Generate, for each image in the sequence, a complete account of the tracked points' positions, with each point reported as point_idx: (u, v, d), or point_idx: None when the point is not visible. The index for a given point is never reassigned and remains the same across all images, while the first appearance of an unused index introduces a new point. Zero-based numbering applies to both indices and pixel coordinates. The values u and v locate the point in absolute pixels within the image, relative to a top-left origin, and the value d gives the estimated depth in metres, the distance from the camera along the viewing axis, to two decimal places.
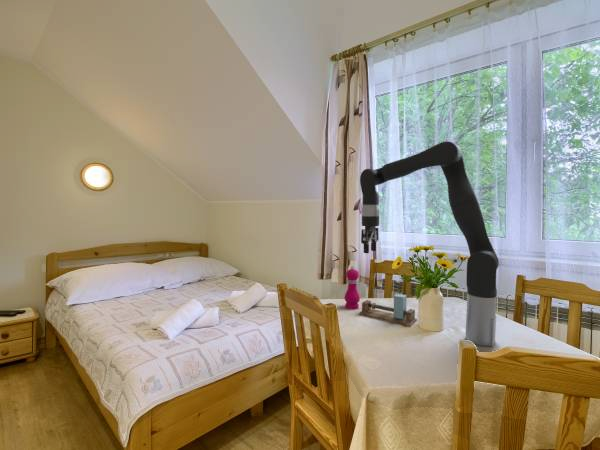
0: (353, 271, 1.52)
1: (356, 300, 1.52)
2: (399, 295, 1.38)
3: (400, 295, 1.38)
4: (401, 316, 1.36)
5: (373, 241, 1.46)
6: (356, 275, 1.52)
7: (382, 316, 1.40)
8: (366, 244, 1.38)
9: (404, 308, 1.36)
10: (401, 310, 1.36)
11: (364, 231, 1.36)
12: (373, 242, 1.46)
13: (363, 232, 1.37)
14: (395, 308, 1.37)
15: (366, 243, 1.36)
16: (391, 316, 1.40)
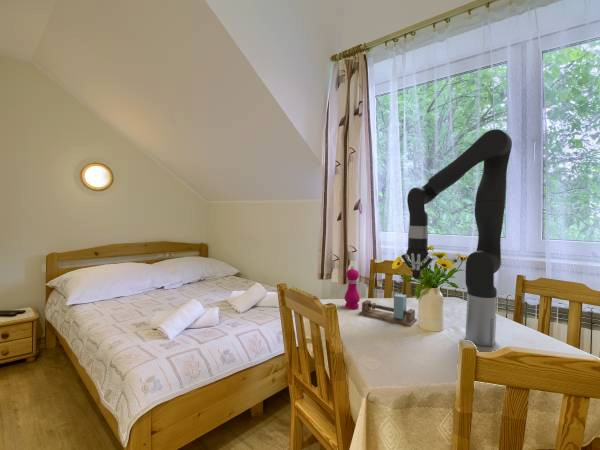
0: (353, 271, 1.52)
1: (356, 300, 1.52)
2: (399, 295, 1.38)
3: (400, 295, 1.38)
4: (401, 316, 1.36)
5: (416, 267, 1.33)
6: (356, 275, 1.52)
7: (382, 316, 1.40)
8: (421, 269, 1.32)
9: (404, 308, 1.36)
10: (401, 310, 1.36)
11: (432, 260, 1.29)
12: (416, 269, 1.33)
13: (431, 261, 1.29)
14: (395, 308, 1.37)
15: (424, 268, 1.32)
16: (391, 316, 1.40)
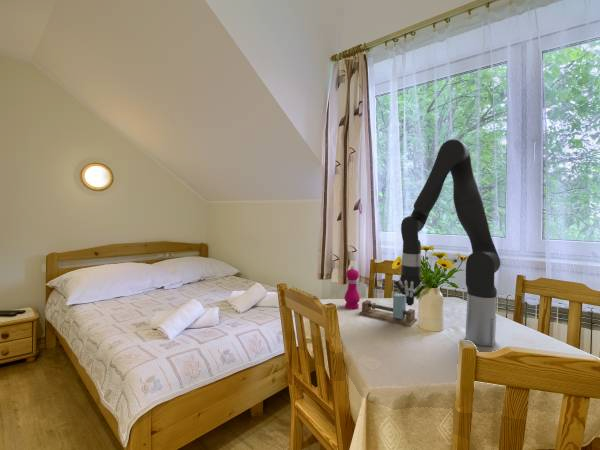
0: (353, 271, 1.52)
1: (356, 300, 1.52)
2: (398, 295, 1.38)
3: (399, 295, 1.38)
4: (400, 316, 1.36)
5: (409, 293, 1.35)
6: (356, 275, 1.52)
7: (382, 316, 1.40)
8: None
9: (403, 308, 1.37)
10: (400, 310, 1.36)
11: None
12: None
13: None
14: (394, 308, 1.37)
15: None
16: (391, 316, 1.40)
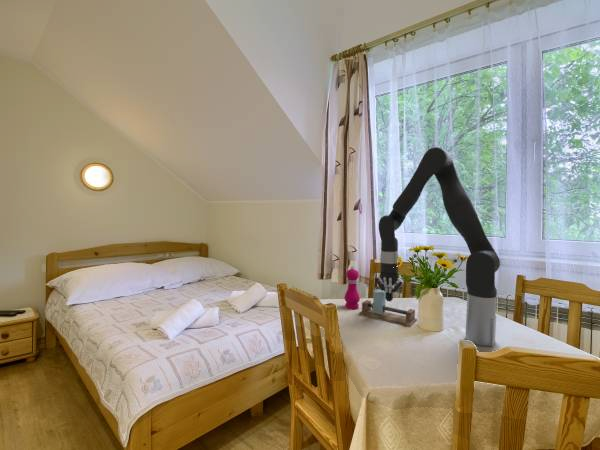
0: (353, 271, 1.52)
1: (356, 300, 1.52)
2: (378, 291, 1.43)
3: (379, 291, 1.43)
4: (380, 311, 1.41)
5: (388, 290, 1.41)
6: (356, 275, 1.52)
7: (382, 316, 1.40)
8: None
9: (383, 304, 1.42)
10: (380, 306, 1.41)
11: (402, 284, 1.37)
12: None
13: (401, 284, 1.37)
14: (374, 304, 1.43)
15: None
16: (391, 316, 1.40)
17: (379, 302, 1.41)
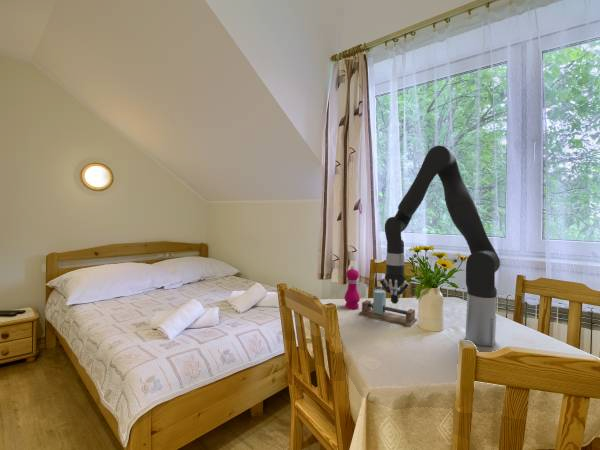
0: (353, 271, 1.52)
1: (356, 300, 1.52)
2: (379, 291, 1.43)
3: (380, 291, 1.43)
4: (380, 311, 1.41)
5: None
6: (356, 275, 1.52)
7: (382, 316, 1.40)
8: (398, 294, 1.38)
9: (383, 304, 1.42)
10: (380, 306, 1.41)
11: (408, 286, 1.35)
12: None
13: (407, 287, 1.35)
14: (374, 304, 1.43)
15: None
16: (391, 316, 1.40)
17: (379, 302, 1.41)
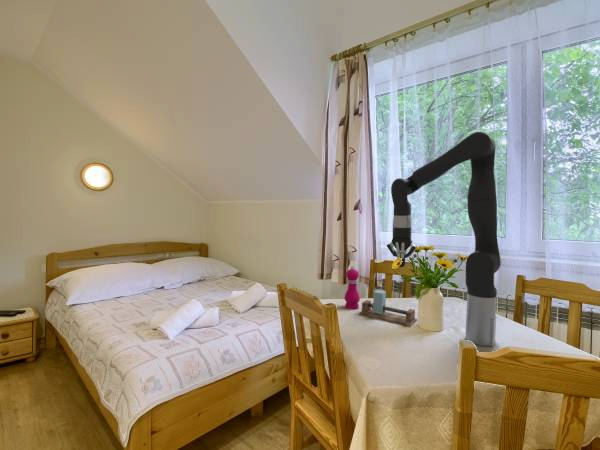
0: (353, 271, 1.52)
1: (356, 300, 1.52)
2: (379, 291, 1.43)
3: (380, 291, 1.43)
4: (380, 311, 1.41)
5: (400, 255, 1.38)
6: (356, 275, 1.52)
7: (382, 316, 1.40)
8: None
9: (383, 304, 1.42)
10: (380, 306, 1.41)
11: (415, 248, 1.34)
12: (401, 257, 1.38)
13: (414, 249, 1.34)
14: (374, 304, 1.43)
15: (409, 256, 1.37)
16: (391, 316, 1.40)
17: (379, 302, 1.41)
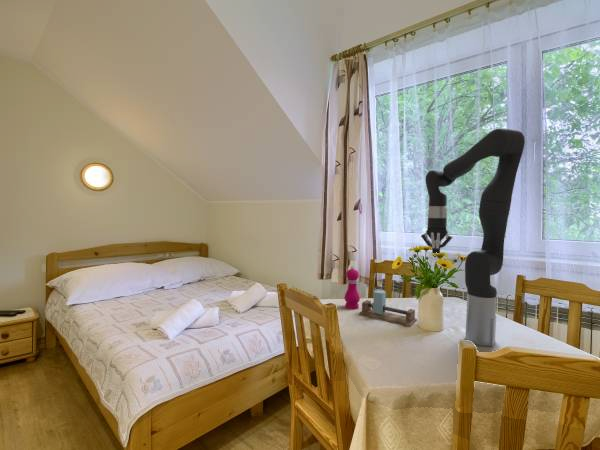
0: (353, 271, 1.52)
1: (356, 300, 1.52)
2: (379, 291, 1.43)
3: (380, 291, 1.43)
4: (380, 311, 1.41)
5: (435, 246, 1.40)
6: (356, 275, 1.52)
7: (382, 316, 1.40)
8: None
9: (383, 304, 1.42)
10: (380, 306, 1.41)
11: (451, 238, 1.36)
12: None
13: (450, 239, 1.36)
14: (374, 304, 1.43)
15: (443, 246, 1.39)
16: (391, 316, 1.40)
17: (379, 302, 1.41)
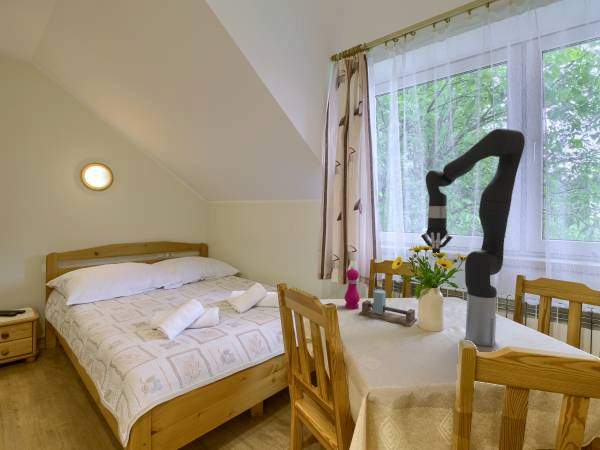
0: (353, 271, 1.52)
1: (356, 300, 1.52)
2: (379, 291, 1.43)
3: (380, 291, 1.43)
4: (380, 311, 1.41)
5: (435, 246, 1.40)
6: (356, 275, 1.52)
7: (382, 316, 1.40)
8: None
9: (383, 304, 1.42)
10: (380, 306, 1.41)
11: (451, 238, 1.36)
12: None
13: (450, 239, 1.36)
14: (374, 304, 1.43)
15: (443, 246, 1.39)
16: (391, 316, 1.40)
17: (379, 302, 1.41)
